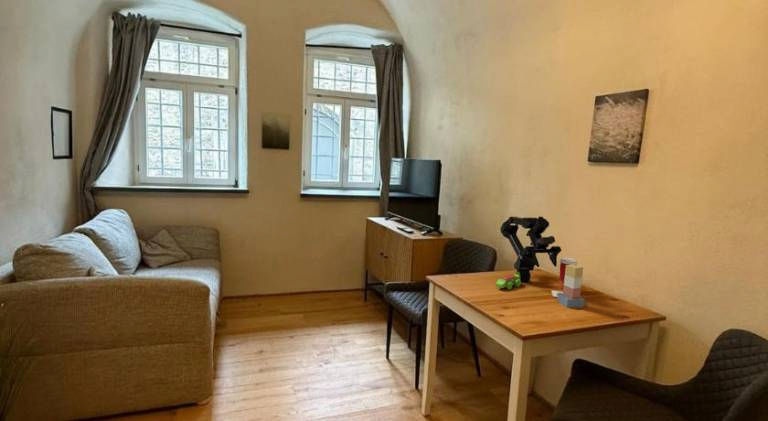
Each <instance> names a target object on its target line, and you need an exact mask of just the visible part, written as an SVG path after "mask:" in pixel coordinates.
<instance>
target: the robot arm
mask: <svg viewBox="0 0 768 421" xmlns="http://www.w3.org/2000/svg"><path fill="white" fill-rule="evenodd" d="M519 226H521V227H522V228H523V229H525V230H526V229H528V230H527V232H526V237H528V238H529V240H530V243H529V244H530V245H526V246H525V247H524V246H523V244H522V242H521V240H520V238H518V237H519V236H518V235H517V234H518V230H519ZM549 227H550V222H549V221H548V219H546V218H544V216H538V217H529V216H527V217H519V216H509V217H508V218H507V220H506V221H504V222H502V224H501V226H500V230H499V231H500V233H501V235H502V236H503V237H504V238H506V239H508V241H509V243H510V245H511V247H512V248H513V251H514V252H515V254H516V256H517V258H516V261H515V262H514V263H513V268H514V269H515V270H516V272H519V273H520V280H521V283H525V284H528V283H529V282H530V281H531V276H532V275H531V274H532V272H531V271H534V269H535V266H536V267H537V268H539V267H540V263H539V260H538V258H537V254H547V255H548V256H549V257H548V258H549V259H550V261H551V264H552V265H553V266H554V267H555V268H556V267H557V266H558V262H557V261H558V259H557V258H558V255H559V254H560V253H561V252H562V248H561V246H559V245H553V243H555V242H556V238H555V237H554V235H550V236H544V237H543V235H542V234H544V233H545V232H546V230H547V229H548V228H549ZM550 245H552V246H551V247H550ZM549 247H550V248H549Z"/></svg>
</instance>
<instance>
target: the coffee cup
mask: <svg viewBox="0 0 768 421" xmlns="http://www.w3.org/2000/svg"><path fill="white" fill-rule="evenodd" d="M571 264H575V265H578V260H576V259H574V258H572V257H561V258H560V260H559V278H558V279H559V281H558V283H559V284H558V286H559V287H558V288H559V289H561V290H563V288H564V279H565V270H566V265H571Z"/></svg>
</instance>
